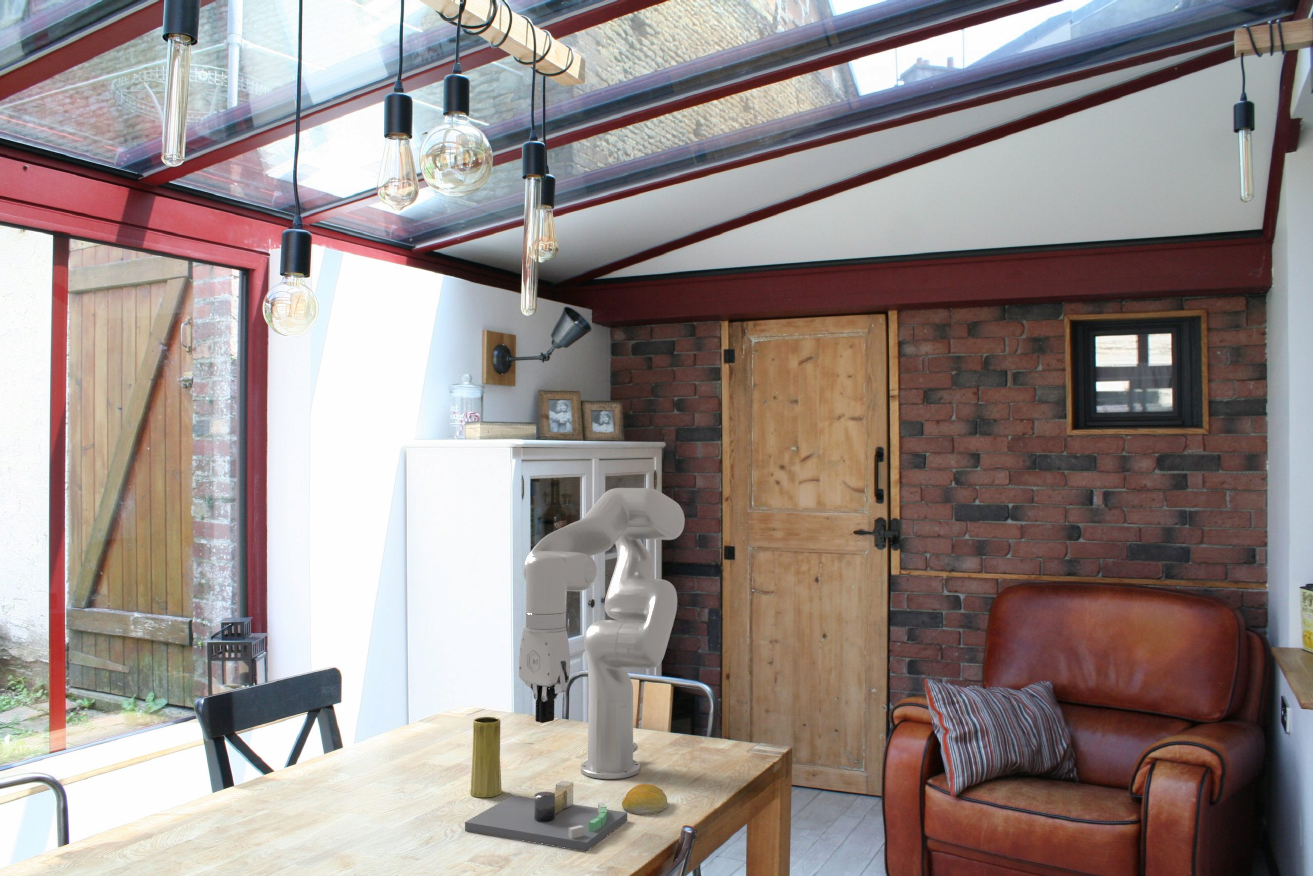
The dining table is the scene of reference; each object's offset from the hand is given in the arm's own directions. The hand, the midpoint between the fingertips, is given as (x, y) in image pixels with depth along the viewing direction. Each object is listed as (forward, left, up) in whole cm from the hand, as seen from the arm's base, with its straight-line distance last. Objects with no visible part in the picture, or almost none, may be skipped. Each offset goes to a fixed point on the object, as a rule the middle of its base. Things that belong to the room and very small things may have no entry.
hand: (544, 721), depth 182 cm
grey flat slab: (+6, +4, -17) cm, 18 cm away
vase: (-5, -16, -17) cm, 24 cm away
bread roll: (-10, +16, -17) cm, 26 cm away
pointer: (+4, +4, -15) cm, 16 cm away
